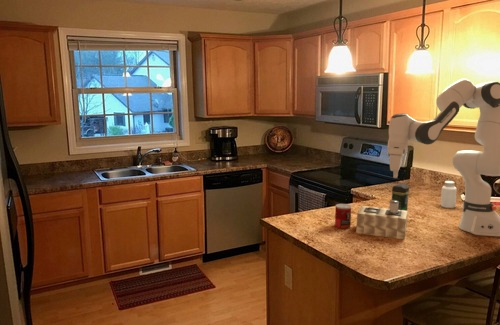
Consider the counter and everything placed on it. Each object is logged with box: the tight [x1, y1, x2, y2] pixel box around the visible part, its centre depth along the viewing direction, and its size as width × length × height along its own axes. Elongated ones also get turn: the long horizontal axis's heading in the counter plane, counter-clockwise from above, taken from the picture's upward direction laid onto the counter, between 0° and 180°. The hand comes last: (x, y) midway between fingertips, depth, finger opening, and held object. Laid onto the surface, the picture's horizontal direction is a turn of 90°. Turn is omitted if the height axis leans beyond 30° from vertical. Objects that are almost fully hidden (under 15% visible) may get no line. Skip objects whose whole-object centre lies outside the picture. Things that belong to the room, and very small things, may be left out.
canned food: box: [334, 203, 352, 230], centre depth 208 cm, size 8×8×11 cm
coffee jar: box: [391, 182, 410, 211], centre depth 222 cm, size 10×8×19 cm
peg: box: [388, 199, 399, 214], centre depth 198 cm, size 4×4×10 cm
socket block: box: [355, 205, 409, 240], centre depth 201 cm, size 22×14×10 cm, turn 66°
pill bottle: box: [440, 180, 458, 209], centre depth 243 cm, size 8×8×15 cm
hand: (395, 177), depth 195 cm, fingers closed
